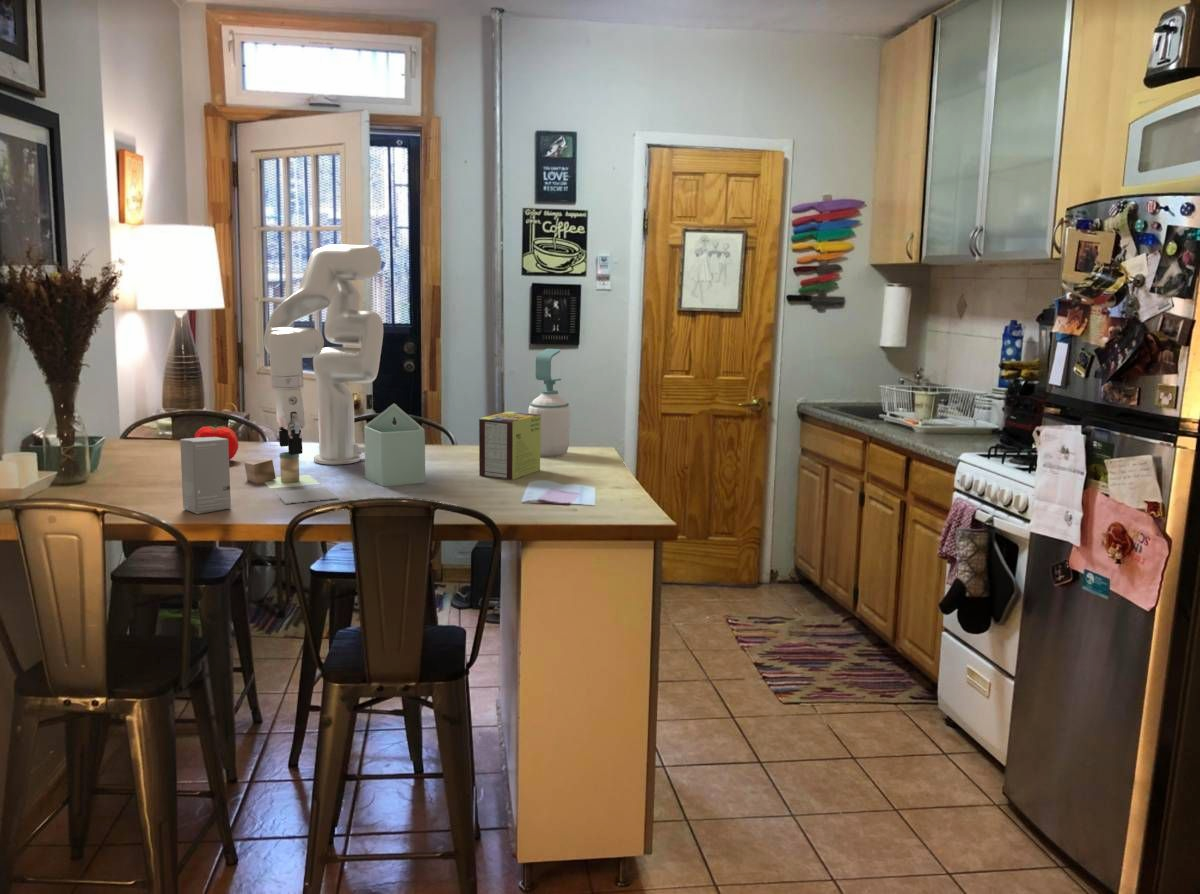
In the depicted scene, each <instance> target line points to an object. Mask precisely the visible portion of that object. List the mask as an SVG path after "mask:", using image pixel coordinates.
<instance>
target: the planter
mask: <svg viewBox="0 0 1200 894" xmlns="http://www.w3.org/2000/svg"><path fill="white" fill-rule="evenodd" d="M394 421H395V422H396V424H394V423H393V422H394ZM363 432H364V446H365V453H364V469H365V470H364V473H365V474H364V475H365V476H364V477H365V479H366V480H368V481H370V482H372V483H375V484H376V485H378V486H379V487H393V486H394V487H395V486H405V485H412V484H413V485H414V484H425V483H426V434H425V433H426V431H425V428H424V427H423V426H422V425H420V424H419V423H418V422H417V421H416V420H415V419H414V418H412V416H409V415H408V414H407V413H406V412H405V411H404V410H403V409H402V408H400V407H399V406H398V405H397V404H396V403H392V404H390V406H388V407H387V408H386V409H384V410H383V411H382V412H381V413H380V414H378V415H377V416H375V417H374V418H373V419H372V420H370V421H369V422H367V423H366V424H365V425H364V431H363Z"/></svg>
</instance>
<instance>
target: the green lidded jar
mask: <svg viewBox="0 0 1200 894" xmlns="http://www.w3.org/2000/svg"><path fill="white" fill-rule="evenodd" d="M299 458H300V454H294V455H290V454H289V451H285V452H280V453H279V460H280V461H279V464H280V466H279V467H280V477H281V482H282V483H296V482H299V475H300V460H299Z"/></svg>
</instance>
